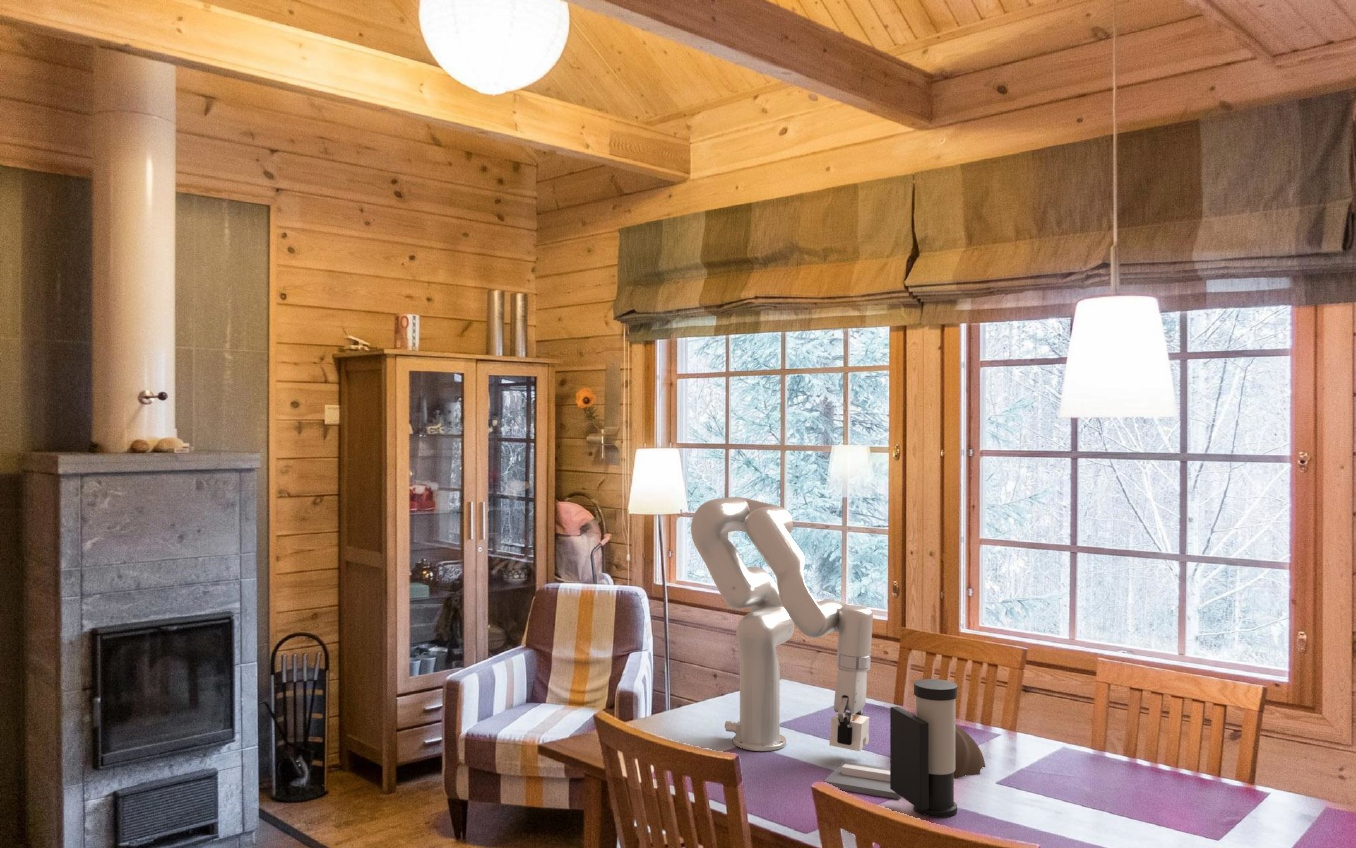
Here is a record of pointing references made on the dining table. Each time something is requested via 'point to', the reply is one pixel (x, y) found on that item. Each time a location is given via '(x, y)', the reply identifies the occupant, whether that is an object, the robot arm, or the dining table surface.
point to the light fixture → (925, 749)
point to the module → (858, 732)
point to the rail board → (863, 779)
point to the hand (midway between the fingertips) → (849, 738)
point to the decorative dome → (966, 755)
